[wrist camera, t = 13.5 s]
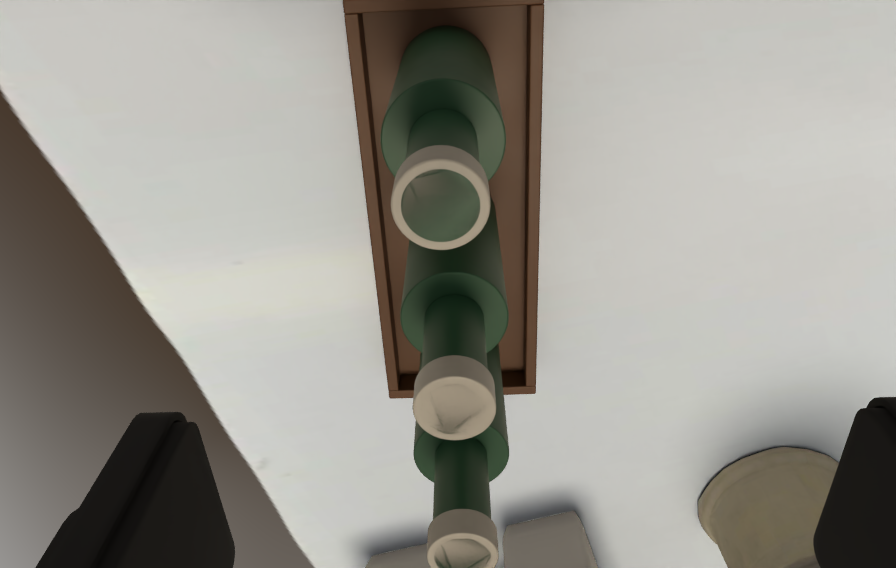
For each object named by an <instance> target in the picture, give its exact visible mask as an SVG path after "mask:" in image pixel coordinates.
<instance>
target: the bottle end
mask: <svg viewBox="0 0 896 568" xmlns="http://www.w3.org/2000/svg"><path fill="white" fill-rule="evenodd" d="M421 367H422V353H421V355H420V369H419V372H420V371H421ZM487 367H488V371H489V372H490V373H491V375H492V377H493V380H494V384H495V397H496V414H495V417H494V419H493V421H492V423H491V424H490V425H489V427H488V428H487V429H486V430H484V431H483V432H482V433H480V434H478V435H476V436H474V437H471V438H468V439H464V440H446V439H441V438H438V437H435V436H433V435H431V434H429V433H428V432H426V431H425V430H424V429H423V428H422V427H421V426H420V425H419V424H418V422H417V421H416V426H415V440H414V460H415V463H416V465H417V467H418V469H419V470H420V472H421V473H422V474H423V475H424V476H425V477H426V478H428V479H429V480H431V481H432V482H434V509H433V521H432V522H431V524H430V526H429V528H428V540H427V560H428V563H429V565H430V566H431V568H494V567H495V565H496V564H497V561H498V540H497V529H496V526H495V524H494V523H493V521H492V520H491V507H490V490H489V482H490V481H492V480H493V479H495V478H496V477H497V476H498V475H499V474H500V473H501V472H502V471H503V470H504V468H505V466H506V464H507V462H508V458H509V446H508V435H507V425H506V415H505V405H504V394H503V384H502V374H501V364H500V354H499V343H498V344H497V345H496V346H495V347H494V348H493V349H492V350H491V351H489V352H488V353H487Z"/></svg>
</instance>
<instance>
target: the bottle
mask: <svg viewBox="0 0 896 568" xmlns="http://www.w3.org/2000/svg"><path fill="white" fill-rule="evenodd" d="M380 142H381V150H382V154H383V157H384V160H385V162H386V165H387V167H388V168H389V170H390V172H391V173H392V174H393V176H394V177H395V181H394V186H393V191H392V196H391V211H392V215H393V218H394V221H395V223H396V225H397V226H398V228H399V229H400V231H401V232H402V233H403V234H404V235H405V236H406V237H407V238H408V239H410V240H411V241H412V242H414V243H416V244H418V245H420V246H422V247H425V248H429V249H434V250H448V249H453V248H457V247H460V246H462V245H464V244H466V243H468V242H470V241H471V240H472V239H474V238H475V237H476V236H477V235H478V234H479V233H480V232H481V230H482V229H483V228H484V226H485V224H486V222H487V220H488V217H489V213H490V206H491V205H490V193H489V185H488V181H489V180H490V179H491V178H492V177H493V176H494V174H495V173H496V172H497V170H498V168H499V166H500V164H501V162H502V159H503V156H504V152H505V147H506V132H505V126H504V121H503V116H502V111H501V107H500V102H499V97H498V92H497V88H496V83H495V78H494V73H493V69H492V64H491V60H490V57H489V54H488V52H487V50H486V48H485V47H484V45H483V44H482V43H481V41H480V40H479V39H478V38H477V37H476V36H474V35H473V34H472V33H470V32H469V31H467V30H465V29H462V28H459V27H455V26H448V25H444V26H436V27H432V28H429V29H427V30H425V31H423V32H421V33H420V34H419V35H417V36H416V37H415V38H414V39H413V40H412V41H411V42H410V43H409V45H408V46H407V48H406V50H405V52H404V54H403V56H402V60H401V63H400V66H399V70H398V73H397V76H396V80H395V83H394V86H393V90H392V93H391V96H390V100H389V103H388V106H387V110H386V113H385V117H384V120H383V123H382V128H381V138H380Z"/></svg>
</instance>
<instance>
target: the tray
mask: <svg viewBox="0 0 896 568" xmlns="http://www.w3.org/2000/svg"><path fill="white" fill-rule="evenodd" d="M543 4H544V0H343V7H344V13H345V15H344V16H345V25H346V33H347V42H348V50H349V59H350V67H351V76H352V84H353V93H354V101H355V110H356V118H357V127H358V135H359V144H360V152H361V161H362V169H363V178H364V186H365V195H366V203H367V212H368V220H369V229H370V237H371V246H372V254H373V263H374V271H375V280H376V288H377V297H378V305H379V314H380V322H381V331H382V339H383V348H384V356H385V365H386V373H387V382H388V390H389V397H390V398H414V385H415V380H416V377H417V375H418V373H419V369H420V355H421V352H420V351H418V350H417V349H416V348H415V347H414V346H413V345H412V344H411V343H410V342H409V341H408V339H407V338H406V336H405V334H404V332H403V330H402V326H401V321H400V311H401V303H402V295H403V287H404V279H405V271H406V263H407V255H408V247H409V239H408V238H407V237H406V236H405V235H404V234H403V233H402V232H401V231H400V229H399V228H398V226H397V225H396V223H395V221H394V218H393V215H392V211H391V196H392V191H393V186H394V181H395V177H394V176H393V174H392V173H391V172H390V170H389V168H388V167H387V165H386V162H385V160H384V157H383V154H382V150H381V142H380V138H381V128H382V123H383V120H384V117H385V113H386V110H387V106H388V103H389V100H390V96H391V93H392V90H393V86H394V83H395V80H396V76H397V73H398V70H399V66H400V63H401V60H402V56H403V54H404V52H405V50H406V48H407V46H408V45H409V43H410V42H411V41H412V40H413V39H414V38H415V37H416V36H417V35H419V34H420V33H421V32H423V31H425V30H427V29H429V28H432V27H436V26H444V25H448V26H455V27H459V28H462V29H465V30H467V31H469V32H470V33H472V34H473V35H474V36H476V37H477V38H478V39H479V40H480V41H481V43H482V44H483V45H484V47H485V48H486V50H487V52H488V54H489V57H490V60H491V64H492V69H493V73H494V78H495V83H496V88H497V92H498V97H499V102H500V107H501V111H502V116H503V121H504V126H505V132H506V147H505V152H504V156H503V159H502V162H501V164H500V166H499V168H498V170H497V172H496V173H495V174H494V176H493V177H492V178H491V179H490V180H489V181H488V185H489V193H490V197H491V198H492V200H493V203H494V206H495V211H496V219H497V226H498V234H499V242H500V250H501V258H502V265H503V273H504V281H505V289H506V297H507V304H508V312H509V320H508V326H507V329H506V332H505V334H504V336H503V337H502V339H501V340H500V342H499V354H500V364H501V374H502V384H503V394H504V395H511V394H535V393H536V352H537V306H538V260H539V214H540V168H541V122H542V76H543V30H544V5H543Z"/></svg>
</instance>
